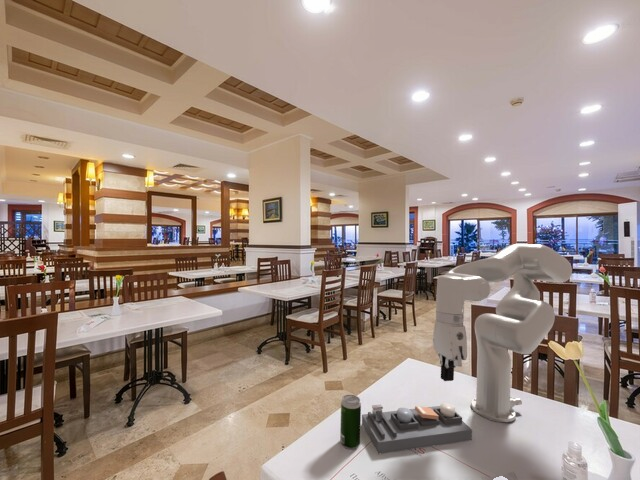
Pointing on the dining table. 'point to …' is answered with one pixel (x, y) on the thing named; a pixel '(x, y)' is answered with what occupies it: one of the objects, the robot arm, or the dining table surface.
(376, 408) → the slide paddle
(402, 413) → the grey dome
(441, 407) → the white dome button
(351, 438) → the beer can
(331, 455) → the dining table surface
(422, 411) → the rocker switch
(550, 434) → the dining table surface
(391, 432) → the switch panel
